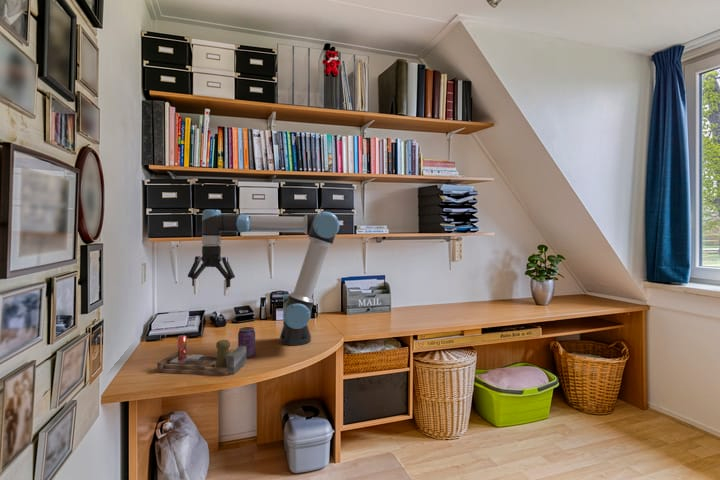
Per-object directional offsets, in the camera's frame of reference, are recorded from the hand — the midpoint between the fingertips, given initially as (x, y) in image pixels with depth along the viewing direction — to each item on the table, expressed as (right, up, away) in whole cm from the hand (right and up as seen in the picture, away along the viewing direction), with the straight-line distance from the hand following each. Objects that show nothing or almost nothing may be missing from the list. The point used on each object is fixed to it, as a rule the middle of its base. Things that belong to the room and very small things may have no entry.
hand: (211, 294), depth 165 cm
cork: (+11, -27, -15) cm, 33 cm away
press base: (+3, -27, -14) cm, 30 cm away
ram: (-4, -26, -13) cm, 29 cm away
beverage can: (+16, -27, -1) cm, 31 cm away
